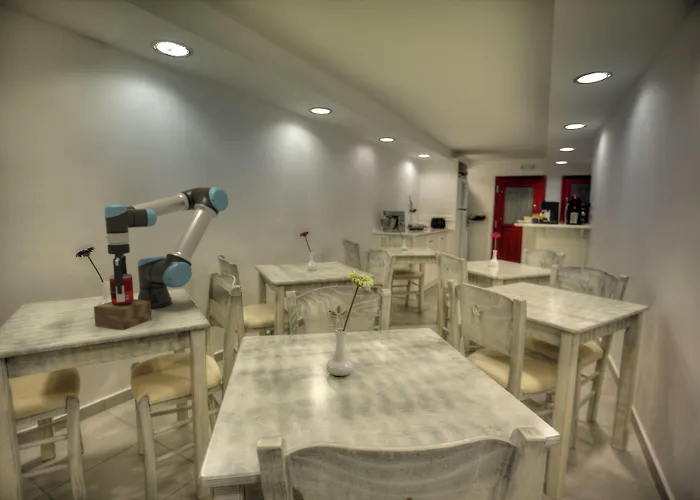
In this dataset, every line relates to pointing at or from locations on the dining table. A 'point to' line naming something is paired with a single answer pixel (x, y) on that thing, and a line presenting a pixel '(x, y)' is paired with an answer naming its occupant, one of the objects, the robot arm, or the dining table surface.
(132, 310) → the walnut block
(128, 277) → the canned food
